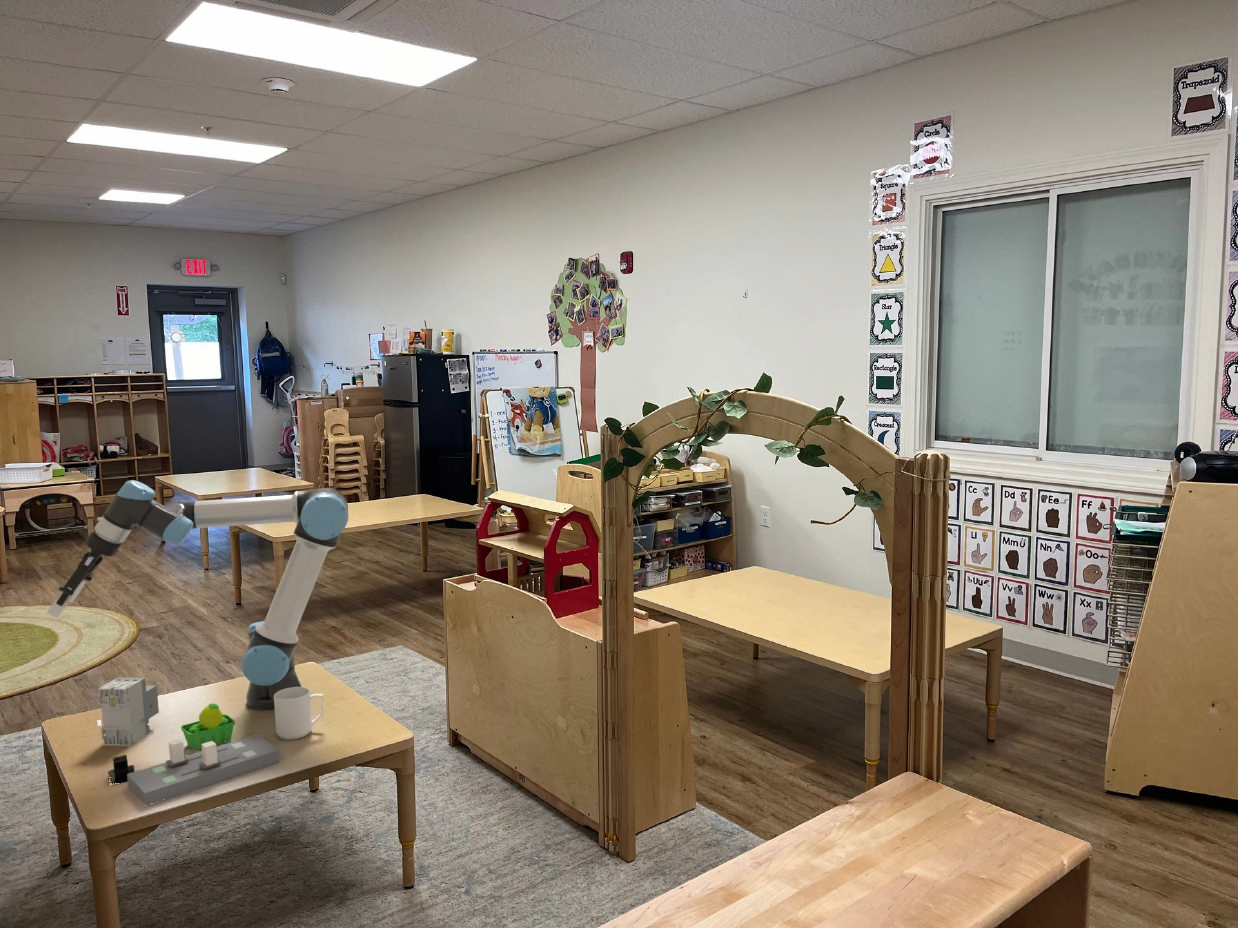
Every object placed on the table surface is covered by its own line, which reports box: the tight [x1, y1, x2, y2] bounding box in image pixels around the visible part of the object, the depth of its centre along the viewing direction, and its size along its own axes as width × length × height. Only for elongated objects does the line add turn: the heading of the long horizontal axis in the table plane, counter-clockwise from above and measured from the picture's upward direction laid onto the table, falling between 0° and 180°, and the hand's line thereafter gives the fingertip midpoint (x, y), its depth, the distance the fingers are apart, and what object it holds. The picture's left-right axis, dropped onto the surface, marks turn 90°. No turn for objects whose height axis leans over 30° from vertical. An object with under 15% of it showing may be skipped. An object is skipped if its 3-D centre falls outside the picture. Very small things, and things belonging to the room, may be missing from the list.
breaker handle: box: [165, 738, 189, 767], centre depth 209 cm, size 4×3×5 cm
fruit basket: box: [180, 702, 236, 751], centre depth 227 cm, size 11×9×11 cm
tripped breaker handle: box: [199, 741, 222, 769], centre depth 208 cm, size 4×3×5 cm
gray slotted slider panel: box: [127, 734, 281, 806], centre depth 211 cm, size 30×13×3 cm, turn 134°
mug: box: [274, 686, 324, 741], centre depth 233 cm, size 12×9×11 cm
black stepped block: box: [107, 754, 136, 784], centre depth 211 cm, size 12×7×5 cm, turn 31°
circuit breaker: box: [97, 677, 160, 747], centre depth 234 cm, size 8×14×15 cm, turn 174°
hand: (59, 607), depth 226 cm, fingers open, 13 cm apart
